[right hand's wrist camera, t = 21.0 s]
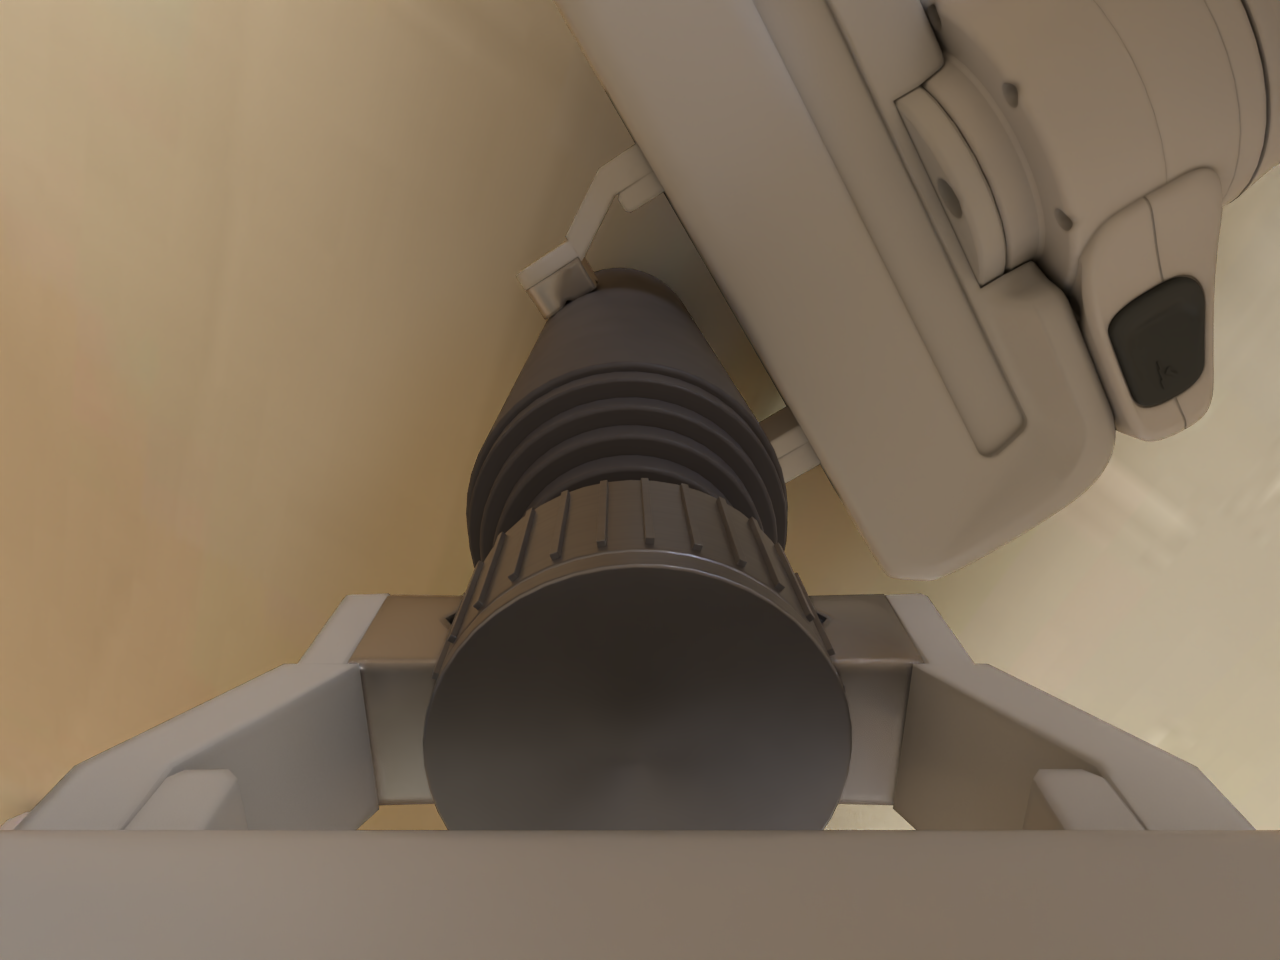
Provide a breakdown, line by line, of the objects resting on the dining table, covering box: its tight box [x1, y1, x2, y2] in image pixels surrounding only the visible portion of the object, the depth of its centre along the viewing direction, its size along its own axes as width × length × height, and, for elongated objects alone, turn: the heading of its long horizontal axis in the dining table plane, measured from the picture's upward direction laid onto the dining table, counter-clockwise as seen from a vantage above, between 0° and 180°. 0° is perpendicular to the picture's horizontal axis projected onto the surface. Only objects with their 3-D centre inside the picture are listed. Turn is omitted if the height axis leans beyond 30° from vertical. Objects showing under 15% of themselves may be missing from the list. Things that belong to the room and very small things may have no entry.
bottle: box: [466, 268, 788, 568], centre depth 19 cm, size 5×5×22 cm
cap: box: [423, 478, 852, 830], centre depth 9 cm, size 4×4×2 cm
